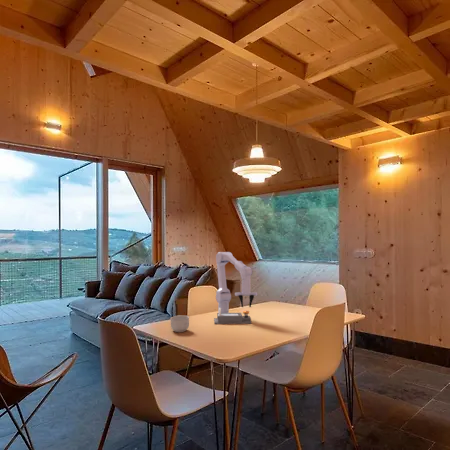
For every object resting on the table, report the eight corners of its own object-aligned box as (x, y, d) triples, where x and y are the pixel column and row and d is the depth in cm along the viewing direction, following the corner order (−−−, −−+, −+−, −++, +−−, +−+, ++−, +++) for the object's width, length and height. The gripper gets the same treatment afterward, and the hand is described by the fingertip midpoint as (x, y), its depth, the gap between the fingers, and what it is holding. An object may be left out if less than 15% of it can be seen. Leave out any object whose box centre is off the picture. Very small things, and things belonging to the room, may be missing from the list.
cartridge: (218, 318, 241) (218, 307, 241) (238, 318, 242) (238, 307, 242) (218, 320, 235) (218, 309, 235) (238, 320, 236) (239, 309, 236)
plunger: (242, 315, 241) (242, 310, 241) (248, 315, 241) (248, 310, 241) (243, 317, 237) (243, 312, 237) (249, 317, 237) (249, 312, 237)
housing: (214, 319, 244) (214, 312, 244) (248, 319, 245) (248, 312, 245) (214, 324, 232) (214, 316, 232) (251, 323, 233) (251, 316, 233)
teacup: (188, 333, 209) (188, 319, 210) (168, 333, 209) (169, 319, 210) (190, 327, 223) (190, 314, 224) (172, 327, 223) (172, 314, 224)
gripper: (235, 286, 235) (235, 308, 235) (258, 286, 236) (258, 308, 236) (234, 285, 242) (234, 306, 242) (256, 285, 243) (256, 305, 243)
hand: (246, 306), depth 239 cm, fingers open, 4 cm apart
